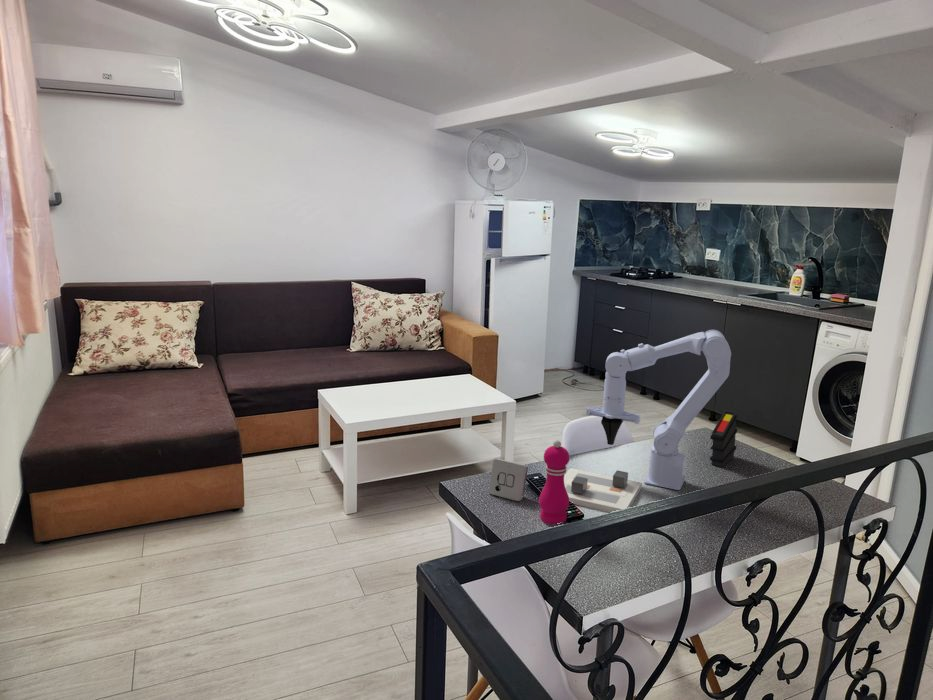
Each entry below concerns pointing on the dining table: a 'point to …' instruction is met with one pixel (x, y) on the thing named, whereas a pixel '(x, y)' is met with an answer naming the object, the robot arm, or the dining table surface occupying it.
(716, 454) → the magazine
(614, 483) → the dark grey block
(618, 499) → the switch panel
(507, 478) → the electrical switch
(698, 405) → the robot arm
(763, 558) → the dining table surface
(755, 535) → the dining table surface
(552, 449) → the pepper mill
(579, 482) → the tab
